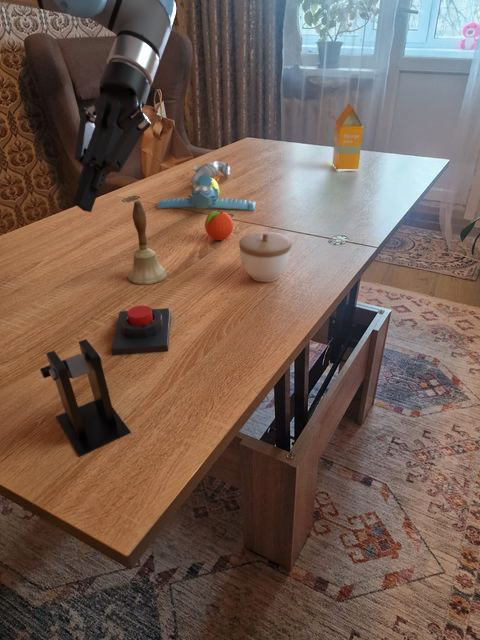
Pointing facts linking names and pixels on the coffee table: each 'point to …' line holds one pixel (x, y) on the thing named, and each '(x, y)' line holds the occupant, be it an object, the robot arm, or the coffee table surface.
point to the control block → (142, 334)
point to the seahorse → (211, 170)
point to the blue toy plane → (206, 197)
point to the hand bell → (144, 254)
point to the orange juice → (347, 140)
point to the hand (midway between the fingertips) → (82, 207)
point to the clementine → (219, 225)
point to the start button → (140, 315)
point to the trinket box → (265, 255)
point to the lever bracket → (87, 405)
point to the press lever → (71, 367)
